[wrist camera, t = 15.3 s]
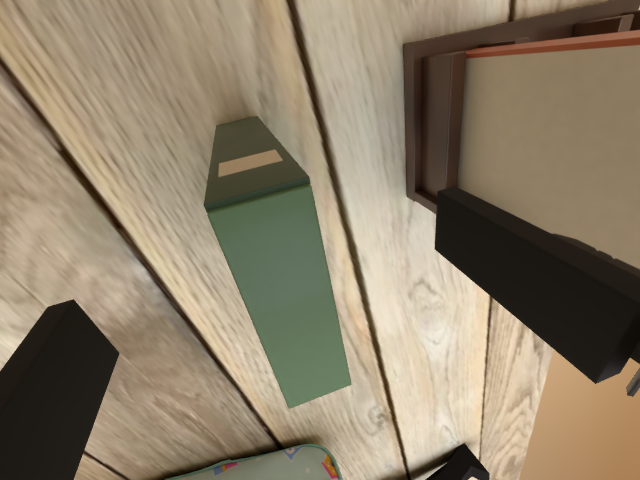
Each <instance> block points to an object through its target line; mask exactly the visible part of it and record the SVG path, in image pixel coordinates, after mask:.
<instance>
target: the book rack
mask: <svg viewBox="0 0 640 480" xmlns="http://www.w3.org/2000/svg"><path fill="white" fill-rule="evenodd" d="M639 6H640V0H612V1H607V2H602V3H598V4H593V5H588V6H583V7H578V8H574V9H569V10H564V11H559V12H555V13H550V14H545V15H540V16H535V17H531V18H526V19H521V20H516V21H512V22H507V23H502V24H497V25H493V26H488V27H483V28H478V29H473V30H469V31H464V32H459V33H454V34H450V35H445V36H440V37H435V38H431V39H426V40H421V41H416V42H411V43H407V44H404V89H405V132H406V176H407V197H408V198H410V199H411V200H413V201H416V202H418V203H419V204H421V205H423V206H424V207H426V208H427V209H429V210H430V211H432V212H433V213H435V214H436V212H437V191H439V190H443V189H446V188H450V187H453V186H456V187H457V180H458V166H459V152H460V138H461V124H462V111H463V97H464V83H465V69H466V55H467V52H466V51H468V50H472V49H477V48H486V47H495V46H504V45H512V44H521V43H530V42H539V41H547V40H556V39H565V38H573V37H582V36H591V35H600V34H608V33H617V32H626V31H635V30H640V10H638V9H639Z"/></svg>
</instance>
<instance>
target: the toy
mask: <svg viewBox="0 0 640 480" xmlns="http://www.w3.org/2000/svg"><path fill="white" fill-rule="evenodd" d="M489 475H490V474H489V472H488V471H487V470H486V469H485V468H484V466H483V465H482V464H481V463H480V462H479V460H478V459H477V458H476V457H475V455H474V454H473V453H472V452H471V451H470V449H469V448H468V447H467V446H466V445H465V444H463V445H462V446H461V447H459V448H458V449H457V450H456V452H455V453H454V455H453V456H452V457H451V459H450V460H449V461H448V463H446V464H445V465H444V466H442V467H441V468H440V469H439V470H437V471H436V472H435V473H433V474H432V475H431V476H430V477H428V478H427V479H426V480H468V479H469V478H471V477H474V478H477V479H479V480H489Z"/></svg>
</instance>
